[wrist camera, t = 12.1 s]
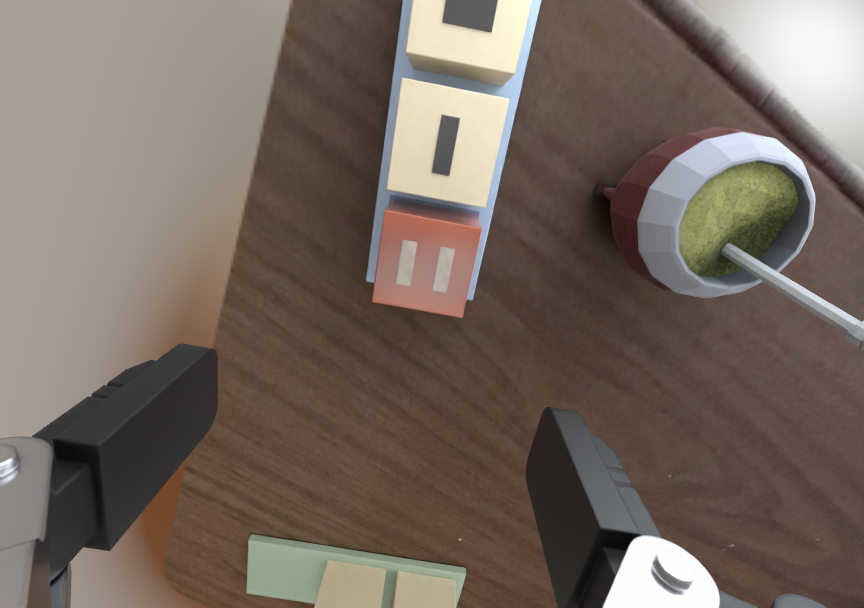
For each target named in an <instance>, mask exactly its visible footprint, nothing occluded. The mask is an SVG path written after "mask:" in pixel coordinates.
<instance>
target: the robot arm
mask: <svg viewBox="0 0 864 608" xmlns="http://www.w3.org/2000/svg"><path fill="white" fill-rule="evenodd" d="M217 404H218V355H217V352H216V351H215V350H214V349H211V348H205V347H199V346H193V345H187V344H178V345H177V346H175V347H174V348H173V349H171V350H170V351H169V352H167V353H166V354H165V355H163V356H162V357H161V358H159V359H158V360H157V361H154V360H150V361H147V362H145V363H142V364H140V365H137V366H134V367H132V368H129V369H126V370H125V371H124V372H122V373H121V374H119V375H118V376H117V377H115V378H114V379H112V380H111V381H110V382H108V384H107V386H105V385H104V386H102V387H101V388H100V389H98V390H97V391H96V392H94V393H93V394H92V396H91V397H87V398H86V399H84V400H83V401H81V402H80V403H79V404H77V405H76V406H74V407H73V408H71V409H70V410H69V411H67V412H66V413H64V414H63V415H61V416H60V417H59V418H57V419H56V420H54V421H53V422H51V423H50V424H49V425H47V426H46V427H44V428H43V429H42V430H40V431H39V432H37V433H36V434H35V435H33V436H32V437H8V438H2V439H0V608H70V599H71V565H70V561H71V560H72V559H73V558H74V557H75V556H76V555H77V553H78V552H79V551H80V550H81V549H82V548H83V547H86V548H93V549H100V550H107V551H110V550H111V549H112V548H113V546H114V545H115V544H116V543H117V542H118V540H119V539H120V538H121V537H122V535H123V534H124V533H125V532H126V531H127V529H128V528H129V527H130V526H131V525H132V523H133V522H134V521H135V520H136V518H137V517H138V516H139V514H141V512H142V511H143V510H144V509H145V507H146V506H147V505H148V504H149V502H150V501H151V500H152V499H153V498H154V497H155V495H156V494H157V493H158V492H159V490H160V489H161V488H162V487H163V486H164V484H165V483H166V482H167V481H168V479H169V478H170V477H171V476H172V475H173V473H174V472H175V471H176V470H177V469H178V467H179V466H180V465H181V463H182V462H183V461H184V460H185V459H186V458H187V456H188V455H189V454H190V453H191V452H192V450H193V449H194V448H195V447H196V445H197V444H198V443H199V442H200V441H201V439H202V438H203V437H204V436H205V434H206V433H207V432H208V431H209V429H210V427H211V426H212V424H213V421H214V419H215V416H216V412H217ZM526 481H527V487H528V491H529V495H530V499H531V503H532V507H533V510H534V514H535V518H536V522H537V526H538V530H539V534H540V538H541V542H542V546H543V550H544V554H545V558H546V562H547V566H548V570H549V574H550V578H551V582H552V586H553V590H554V594H555V598H556V602H557V606H558V608H759V607H757V606H755V605H752V604H750V603H748V602H745V601H743V600H741V599H738V598H736V597H733V596H731V595H729V594H726V593H724V592H722V591H720V590H718V588H717V586H716V584H715V582H714V580H713V578H712V577H711V575H710V574H709V573H708V571H707V570H706V569H705V568H704V567H703V565H702V564H701V563H700V562H699V561H698V560H696V559H695V558H694V557H693V556H692V555H691V554H689V553H688V552H687V551H685V550H684V549H682V548H681V547H679V546H677V545H676V544H674V543H672V542H670V541H667V540H665V539H663V538H662V536H661V534H660V532H659V530H658V529H657V527H656V525H655V523H654V521H653V520H652V518H651V516H650V514H649V513H648V511H647V509H646V507H645V505H644V504H643V502H642V500H641V498H640V497H639V495H638V493H637V491H636V489H635V488H634V487H632V482H631V481H630V479H629V477H628V475H627V473H625V472H624V468H623V466H622V465H621V463H620V461H619V459H618V457H617V456H616V454H615V452H614V451H613V450H612V449H611V448H610V447H609V446H608V445H607V444H606V443H604V442H603V441H602V440H601V439H600V438H599V437H598V436H594V435H590V433H589V431H588V429H587V427H586V425H585V423H584V421H583V419H582V417H581V415H580V414H579V413H578V412H575V411H570V410H564V409H558V408H552V407H546V408H545V409H544V411H543V413H542V415H541V418H540V422H539V425H538V428H537V431H536V434H535V437H534V440H533V443H532V447H531V450H530V453H529V456H528V460H527V466H526ZM770 608H827V607H825V606H824V605H822V604H820V603H818V602H816V601H814V600H812V599H809V598H806V597H804V596H800V595H797V594H783V595H780V596H779V597H777V598H776V600H775V601H774V603H773V604H772V606H771V607H770Z"/></svg>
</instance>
